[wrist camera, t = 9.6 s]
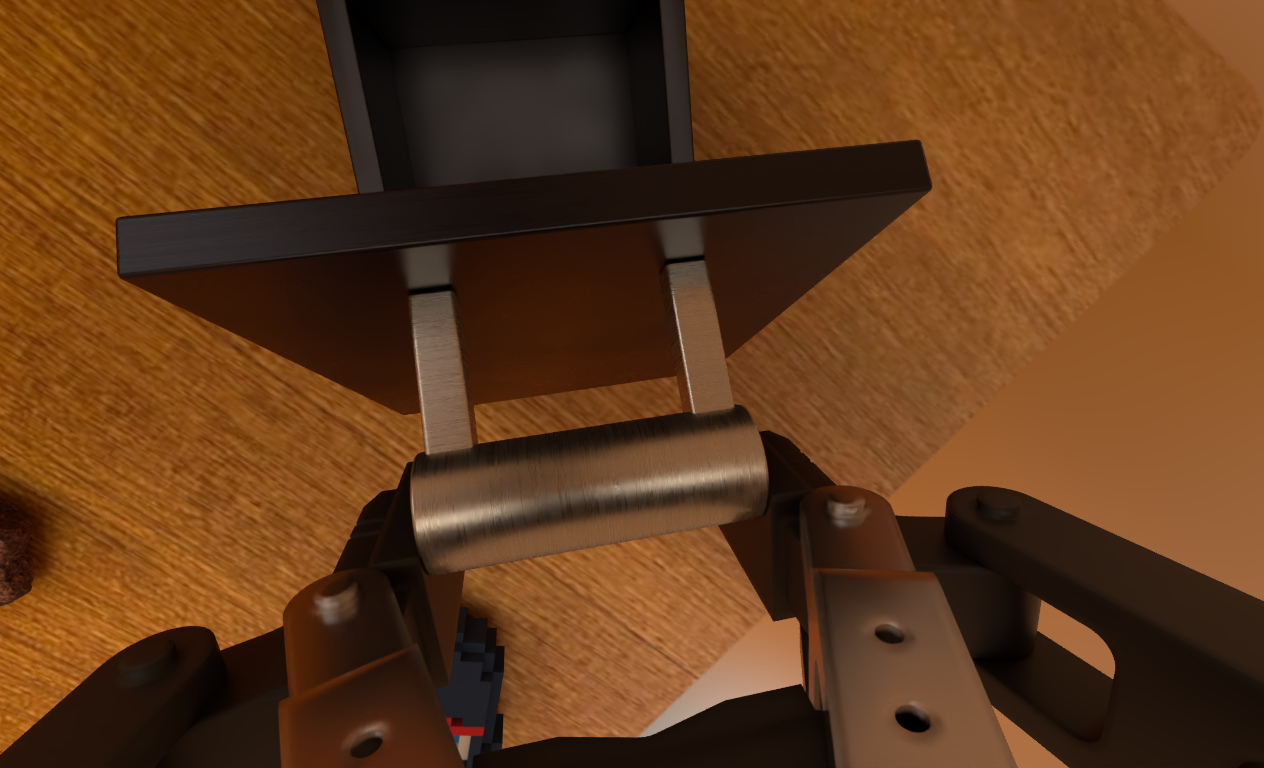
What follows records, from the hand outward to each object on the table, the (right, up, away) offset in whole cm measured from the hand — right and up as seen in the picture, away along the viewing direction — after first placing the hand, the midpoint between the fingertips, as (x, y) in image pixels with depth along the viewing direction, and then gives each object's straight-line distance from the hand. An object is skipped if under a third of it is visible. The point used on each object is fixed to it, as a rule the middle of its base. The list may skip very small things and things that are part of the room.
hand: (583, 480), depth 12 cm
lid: (-1, +4, +2) cm, 4 cm away
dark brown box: (-3, +10, +14) cm, 17 cm away
